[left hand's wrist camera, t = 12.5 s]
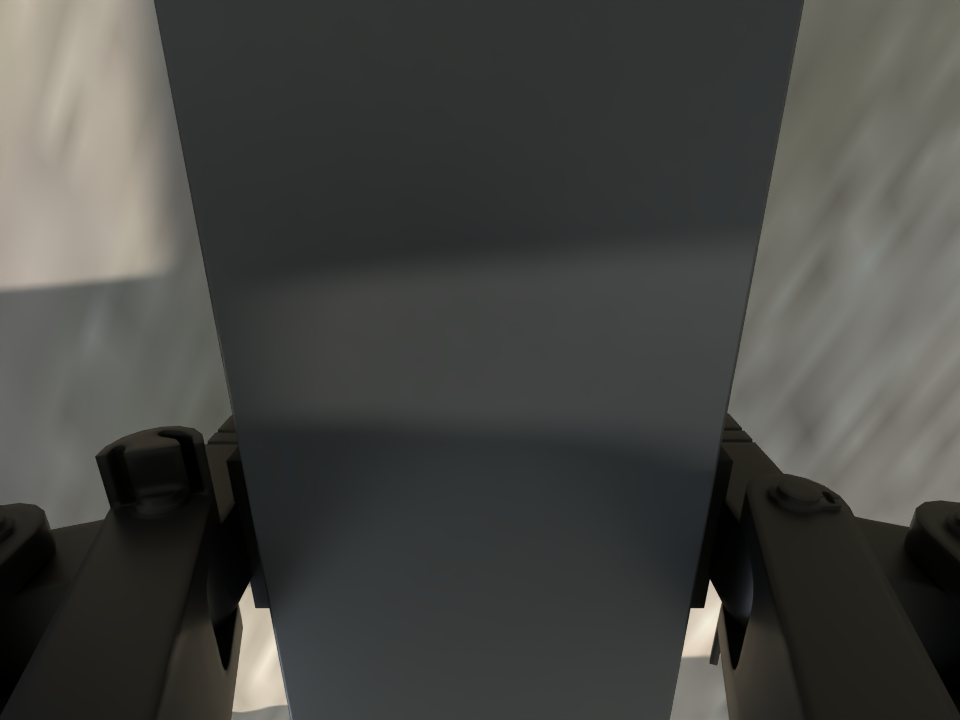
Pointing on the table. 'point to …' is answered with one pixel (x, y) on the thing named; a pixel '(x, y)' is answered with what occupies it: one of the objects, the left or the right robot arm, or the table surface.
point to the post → (479, 328)
